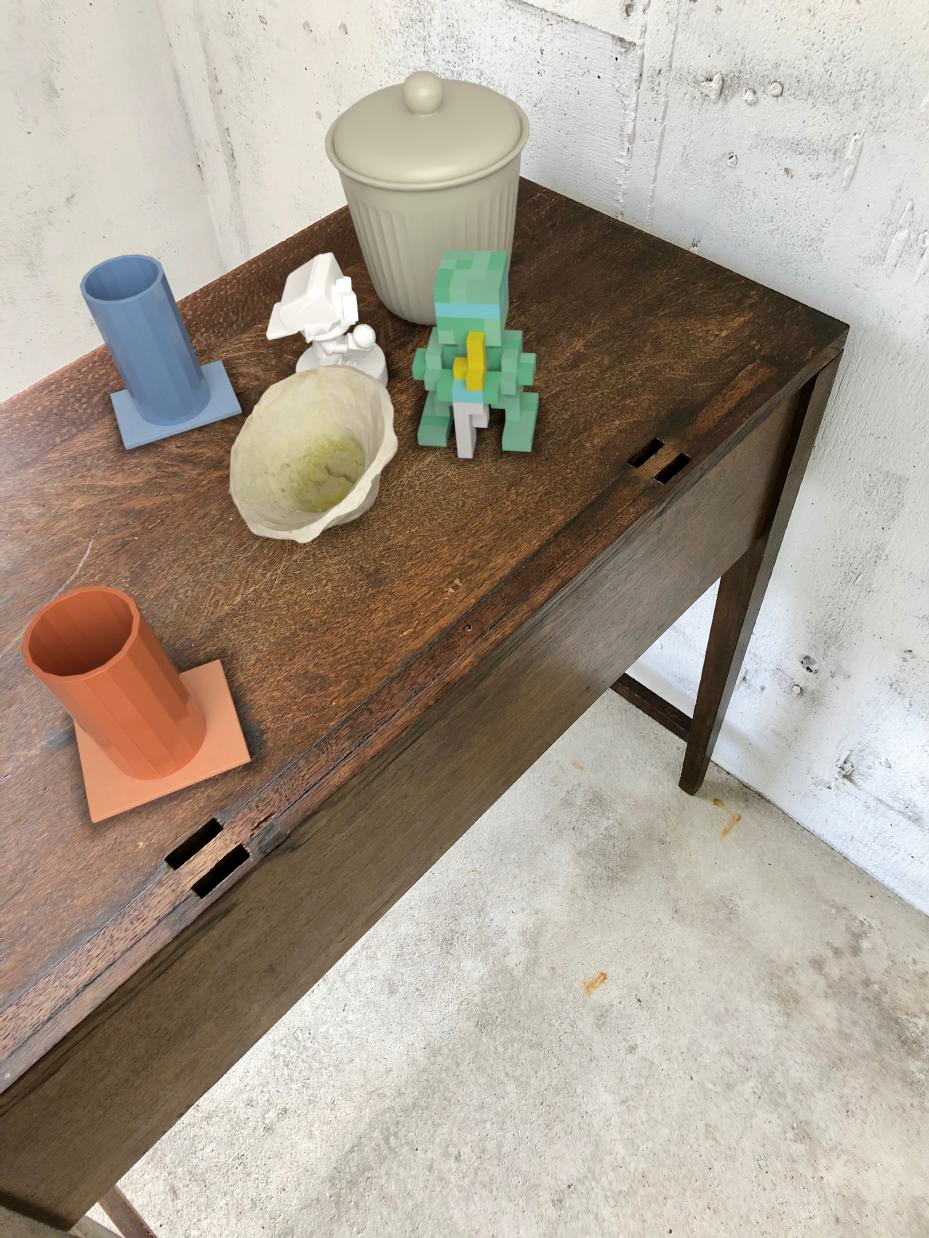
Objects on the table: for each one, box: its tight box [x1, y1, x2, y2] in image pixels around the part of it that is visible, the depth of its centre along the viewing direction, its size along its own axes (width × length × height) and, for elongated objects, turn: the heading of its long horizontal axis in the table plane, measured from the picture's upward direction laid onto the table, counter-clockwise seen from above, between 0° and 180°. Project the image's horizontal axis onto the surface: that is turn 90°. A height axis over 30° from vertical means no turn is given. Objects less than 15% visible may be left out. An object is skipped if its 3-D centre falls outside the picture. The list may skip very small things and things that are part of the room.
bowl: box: [228, 365, 399, 544], centre depth 70 cm, size 15×14×10 cm
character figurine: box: [265, 251, 389, 389], centre depth 79 cm, size 9×10×12 cm
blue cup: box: [79, 253, 210, 426], centre depth 77 cm, size 7×7×13 cm
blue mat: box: [109, 359, 243, 451], centre depth 83 cm, size 11×8×1 cm
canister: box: [324, 70, 531, 327], centre depth 82 cm, size 18×18×21 cm
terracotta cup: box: [20, 584, 206, 780], centre depth 56 cm, size 7×7×13 cm
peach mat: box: [72, 658, 252, 824], centre depth 62 cm, size 11×9×1 cm
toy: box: [411, 250, 540, 459], centre depth 73 cm, size 10×10×15 cm
